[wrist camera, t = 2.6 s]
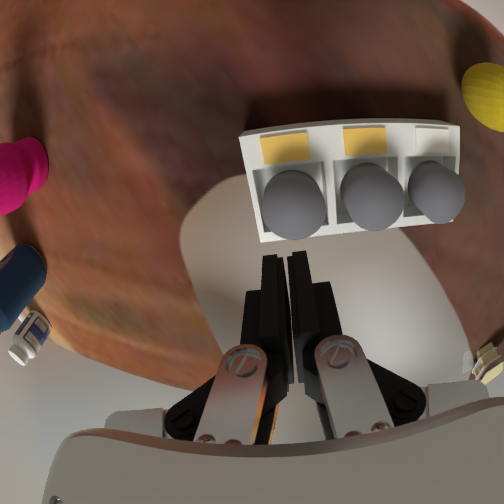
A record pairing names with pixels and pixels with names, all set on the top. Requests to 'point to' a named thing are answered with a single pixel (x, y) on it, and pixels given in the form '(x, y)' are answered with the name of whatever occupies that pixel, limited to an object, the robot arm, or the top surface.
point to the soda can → (19, 282)
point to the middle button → (372, 196)
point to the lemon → (485, 94)
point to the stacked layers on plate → (484, 363)
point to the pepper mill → (21, 172)
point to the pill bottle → (29, 337)
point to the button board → (346, 160)
